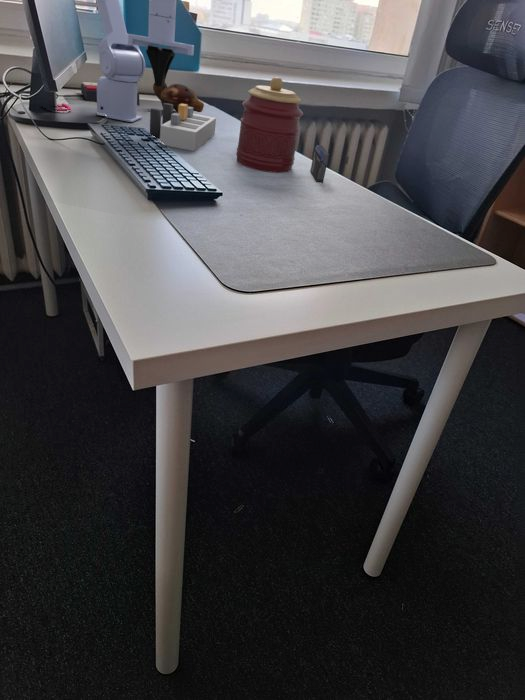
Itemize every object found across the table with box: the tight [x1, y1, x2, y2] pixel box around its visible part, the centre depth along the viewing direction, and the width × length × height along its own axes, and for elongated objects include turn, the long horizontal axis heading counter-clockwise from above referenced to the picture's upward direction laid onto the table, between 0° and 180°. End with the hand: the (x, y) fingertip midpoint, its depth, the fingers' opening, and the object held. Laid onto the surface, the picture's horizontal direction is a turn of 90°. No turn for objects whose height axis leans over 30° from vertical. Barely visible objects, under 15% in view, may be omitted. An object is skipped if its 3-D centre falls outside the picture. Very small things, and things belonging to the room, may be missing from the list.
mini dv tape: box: [309, 144, 330, 184], centre depth 111 cm, size 8×2×6 cm, turn 4°
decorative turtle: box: [152, 82, 205, 113], centre depth 148 cm, size 10×15×8 cm, turn 88°
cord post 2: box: [161, 103, 174, 125], centre depth 127 cm, size 2×2×6 cm
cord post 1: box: [149, 107, 162, 139], centre depth 118 cm, size 2×2×6 cm
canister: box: [235, 76, 304, 173], centre depth 110 cm, size 13×13×18 cm
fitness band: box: [55, 103, 72, 111], centre depth 128 cm, size 8×6×2 cm
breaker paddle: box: [178, 104, 188, 120], centre depth 121 cm, size 2×3×3 cm, turn 172°
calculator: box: [80, 81, 140, 106], centre depth 151 cm, size 11×4×15 cm
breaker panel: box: [159, 106, 217, 152], centre depth 122 cm, size 8×22×6 cm, turn 172°
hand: (159, 85), depth 119 cm, fingers closed
